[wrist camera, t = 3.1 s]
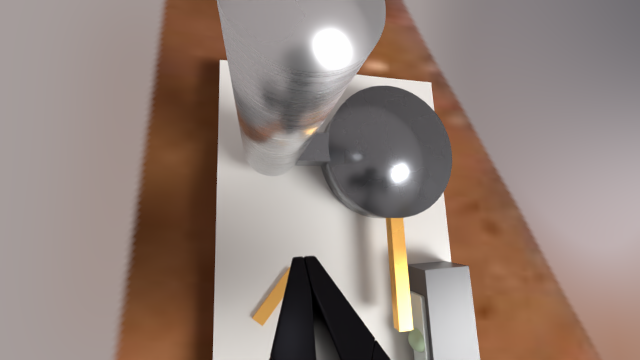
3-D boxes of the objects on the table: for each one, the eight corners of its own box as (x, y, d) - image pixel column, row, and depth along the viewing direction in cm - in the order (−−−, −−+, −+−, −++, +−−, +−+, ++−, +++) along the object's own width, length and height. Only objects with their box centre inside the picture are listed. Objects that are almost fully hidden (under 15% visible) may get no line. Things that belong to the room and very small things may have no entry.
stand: (450, 394, 17) (496, 435, 14) (214, 451, 14) (201, 525, 10) (418, 92, 21) (450, 67, 17) (223, 73, 17) (215, 37, 14)
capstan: (446, 310, 16) (815, 483, 6) (243, 340, 13) (187, 854, 2) (424, 104, 18) (659, -59, 8) (245, 89, 15) (219, -216, 5)
